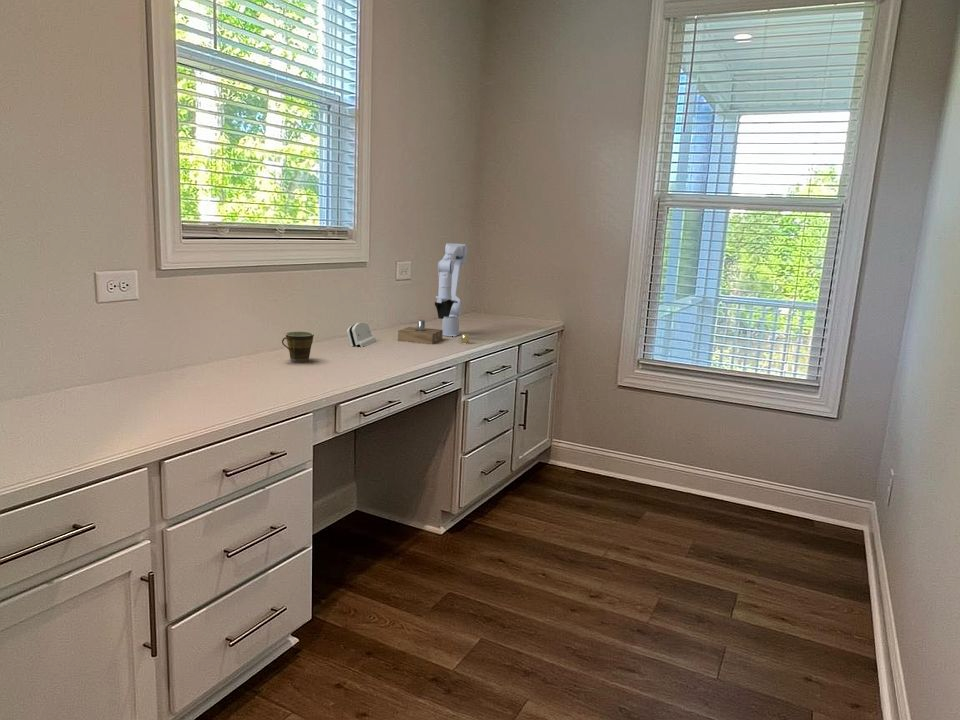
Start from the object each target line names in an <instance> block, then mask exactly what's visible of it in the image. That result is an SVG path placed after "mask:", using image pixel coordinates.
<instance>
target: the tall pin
mask: <svg viewBox="0 0 960 720" xmlns="http://www.w3.org/2000/svg"><path fill="white" fill-rule="evenodd" d="M425 322H426V320H425V319H417V326H416V327H417V331H425V328H426V326H425V325H426V323H425Z"/></svg>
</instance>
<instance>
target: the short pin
mask: <svg viewBox="0 0 960 720" xmlns="http://www.w3.org/2000/svg"><path fill="white" fill-rule="evenodd" d="M469 339H470V334H468V333H461V343H460V344H462V343H466V344H465V345H468V344H467V343H469V342H470V340H469Z"/></svg>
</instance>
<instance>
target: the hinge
mask: <svg viewBox="0 0 960 720" xmlns="http://www.w3.org/2000/svg"><path fill="white" fill-rule="evenodd" d="M346 333H347V338H348V341H349V345H350V347H351V346H352V347H355V346H358V345H359V346H360V348H364V347H366V346H368V344H369V345H371V344H373V343H372V342H374V343H376V342H377V338H376V337H375V336H373V334H372V332H371V329H370V327H369V324H368V323H366V322H357V323H354V324H351V325H350V326H349V327H348V328H347V330H346ZM375 341H376V342H375ZM370 343H371V344H370ZM365 345H366V346H365ZM363 346H364V347H363Z"/></svg>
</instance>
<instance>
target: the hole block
mask: <svg viewBox="0 0 960 720" xmlns="http://www.w3.org/2000/svg"><path fill="white" fill-rule="evenodd" d="M417 327H418V326H408V327H405V328H402V329H399V330H397V341H398V340H399V341H398V342H404V341H408V342H407V343H414V342H418V343H417V344H424V343H427V344H426V345H434V344H436V343H438V342H440V341H442V340H443V330H442V329H438V328H427V327H425V331H417ZM439 340H440V341H439ZM437 341H438V342H437ZM435 342H436V343H435ZM433 343H434V344H433Z"/></svg>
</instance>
